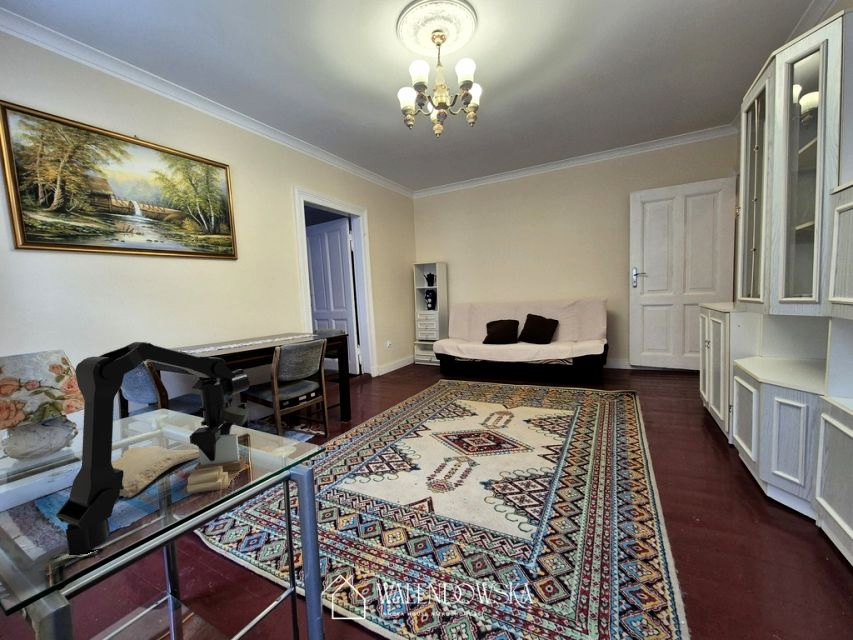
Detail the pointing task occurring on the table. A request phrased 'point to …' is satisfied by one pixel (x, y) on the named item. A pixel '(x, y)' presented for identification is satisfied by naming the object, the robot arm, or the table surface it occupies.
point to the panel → (223, 450)
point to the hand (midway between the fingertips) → (219, 453)
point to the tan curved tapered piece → (147, 465)
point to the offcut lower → (209, 484)
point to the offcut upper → (205, 475)
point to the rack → (228, 467)
